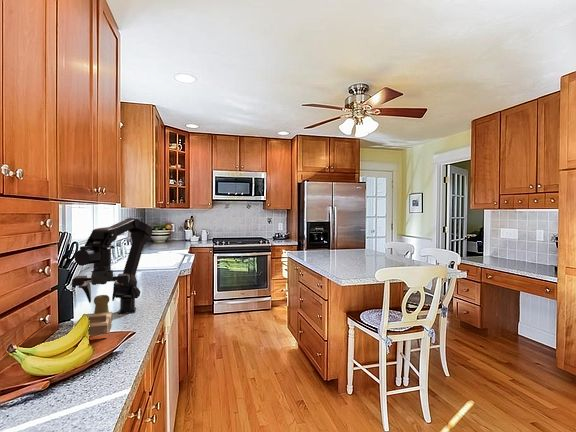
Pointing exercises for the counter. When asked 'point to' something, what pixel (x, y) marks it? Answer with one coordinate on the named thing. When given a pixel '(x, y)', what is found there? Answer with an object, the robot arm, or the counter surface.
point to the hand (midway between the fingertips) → (101, 301)
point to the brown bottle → (101, 304)
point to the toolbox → (100, 329)
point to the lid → (99, 319)
